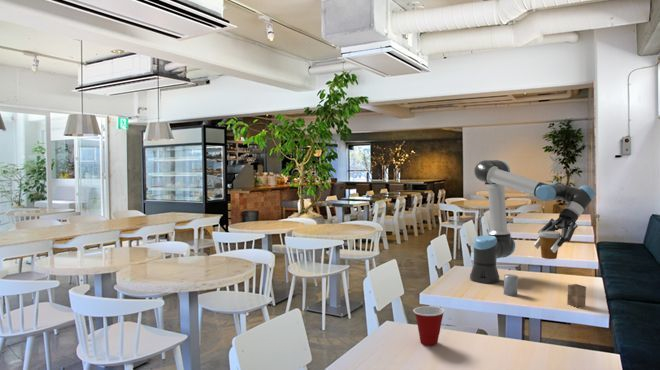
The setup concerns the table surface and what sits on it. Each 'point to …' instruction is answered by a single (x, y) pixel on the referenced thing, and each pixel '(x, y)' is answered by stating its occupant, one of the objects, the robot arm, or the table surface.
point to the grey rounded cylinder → (510, 284)
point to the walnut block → (576, 295)
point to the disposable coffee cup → (548, 243)
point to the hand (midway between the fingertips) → (544, 248)
